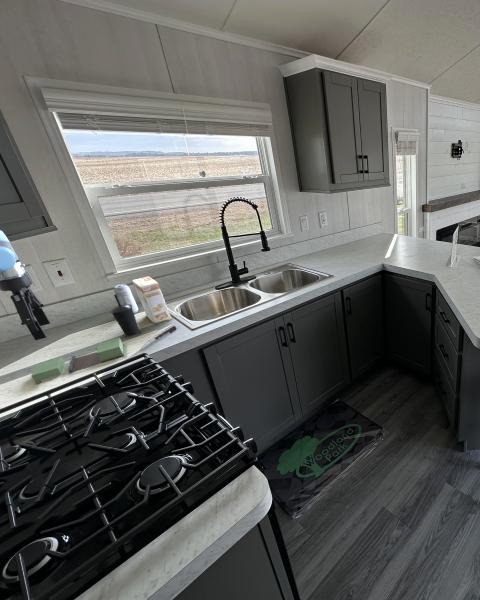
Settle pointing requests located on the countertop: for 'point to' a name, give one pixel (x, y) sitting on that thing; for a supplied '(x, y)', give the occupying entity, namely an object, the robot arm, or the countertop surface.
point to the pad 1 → (47, 369)
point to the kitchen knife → (162, 334)
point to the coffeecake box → (151, 299)
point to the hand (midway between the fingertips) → (43, 331)
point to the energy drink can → (125, 296)
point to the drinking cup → (125, 318)
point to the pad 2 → (110, 349)
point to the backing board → (87, 361)
